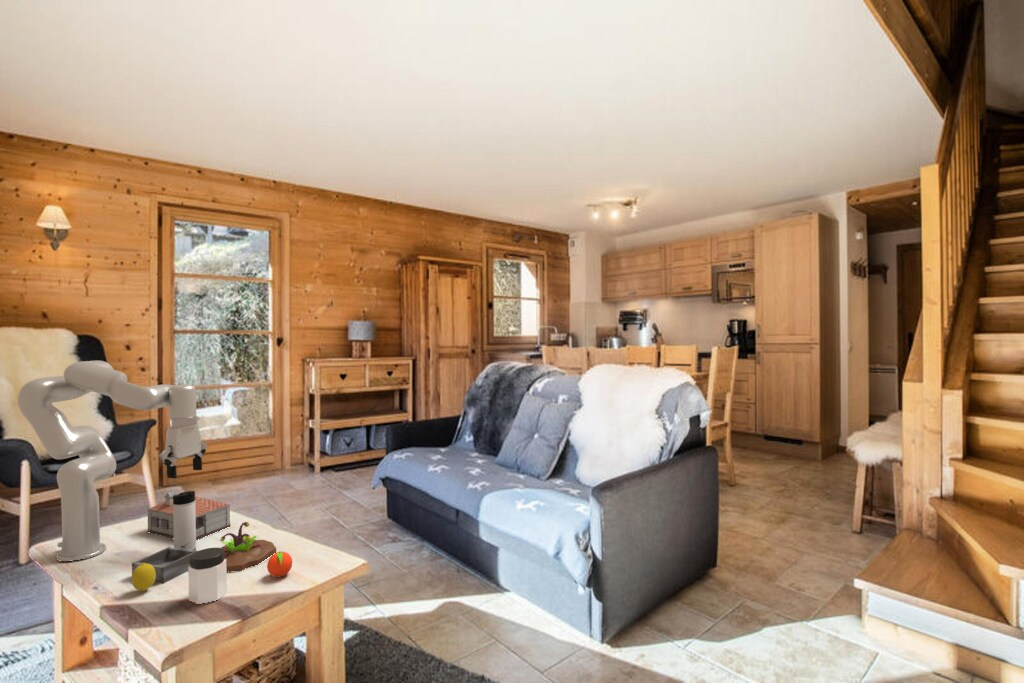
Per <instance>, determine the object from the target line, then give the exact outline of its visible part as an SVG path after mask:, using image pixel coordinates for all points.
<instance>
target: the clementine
mask: <svg viewBox="0 0 1024 683" xmlns="http://www.w3.org/2000/svg"><path fill="white" fill-rule="evenodd" d="M266 563H267V564H266V565H267V566H266V569H267V572H268V573H269V574H270V575H271V576H272V577H274V578H281V577H283V576H285V575H287V574H288V573H289V572H290V571H291V569H292V566H293V557H292V556H291V554H289V553H288V552H287V551H276V553H275V554H274V555H272V556H271V557H270V558H269V559H268V560H267V562H266Z"/></svg>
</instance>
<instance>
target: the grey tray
mask: <svg viewBox="0 0 1024 683" xmlns="http://www.w3.org/2000/svg"><path fill="white" fill-rule="evenodd" d="M197 551H198V550H187V549H179V548H174V547H171V546H168V547H166V548H164V549H161V550H160V551H157V552H155V553H152V554H150V555H148V556H146V557H142V558H141V559H139V560H137V561H134V562H132V563H131V575H132V574H133V572H134V570H135V569H136V568H137V567H138V566H139V565H141V564H142V563H147V564H151V565H152V566H153V567H154V569H155V572H156V578H155V581H154V583H158V582H160V583H159V584H165V582H166V583H167V581H168V582H169V581H171V580H173V579H175V578H177V577H179V576H180V575H183V574H185V573H187V572H188V567H189V566H190V556H191V555H192V554H193V553H195V552H197Z"/></svg>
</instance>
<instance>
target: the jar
mask: <svg viewBox="0 0 1024 683" xmlns="http://www.w3.org/2000/svg"><path fill="white" fill-rule="evenodd" d="M196 551H197V552H195V553H193V554H192V555H191V556H190V566H189V567H188V571H187V572H188V600H189V602H191V601H192V602H191V603H193V602H195V603H196V604H195V603H194V604H195V605H197V604H201V605H203V604H202V603H205V604H209V603H212V601H214V602H217V601H216V600H218V599H219V600H220V599H221V598H222V597H223V596H225V595H226V594H227V593H228V584H227V582H228V581H227V580H228V577H227V573H228V572H227V569H226V559H224V549H222V548H221V547H207V548H203V549H200V550H196ZM219 600H218V601H219ZM208 602H209V603H208Z"/></svg>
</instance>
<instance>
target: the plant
mask: <svg viewBox="0 0 1024 683" xmlns="http://www.w3.org/2000/svg"><path fill="white" fill-rule="evenodd" d="M243 526H244V527H247V528H248V527H249V526H250V522H249V521H244V522H242V523H241V524H240V526H239V529H238V532H237V535H236V534H234V533H233V532H228V533H225V535H223V536H221V537H220V542H222V544H223V546H222V547H220V548H222V549H224V559H226V569H227V573H232V572H231V571H236V572H243V571H244V570H246V569H249V568H252V567H251V566H253V567H256V566H255V565H257V566H259V565H260V564H259V563H261V562H262V561H264V560H265V559H267V558H268V557H270V556H271V555H273V554H274V553H277V547H276V546H275V544H274V542H272V541H270V540H266V539H256V538H257V537H258V536H257V535H253V536H252V537H251V535H250V534H248V533H243ZM242 533H243V534H242ZM227 536H231V538H229V541H225V540H226V537H227ZM267 560H268V559H267ZM264 562H265V561H264ZM258 564H259V565H258ZM261 564H262V563H261ZM248 567H249V568H248ZM245 568H246V569H245ZM242 570H243V571H242ZM228 571H229V572H228Z"/></svg>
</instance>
